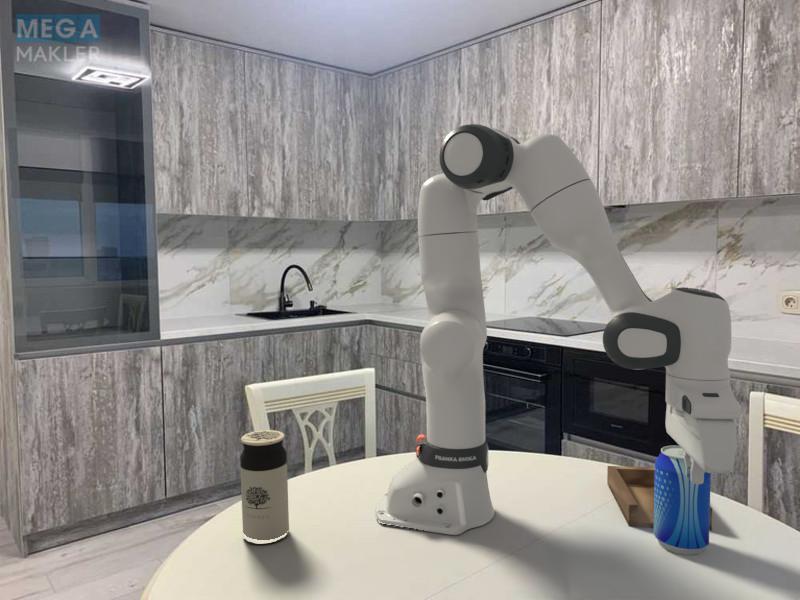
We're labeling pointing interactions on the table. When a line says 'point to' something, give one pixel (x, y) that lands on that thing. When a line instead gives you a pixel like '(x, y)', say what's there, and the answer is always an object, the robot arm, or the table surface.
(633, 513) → the open box
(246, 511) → the travel mug
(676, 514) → the beer can
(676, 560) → the table surface
